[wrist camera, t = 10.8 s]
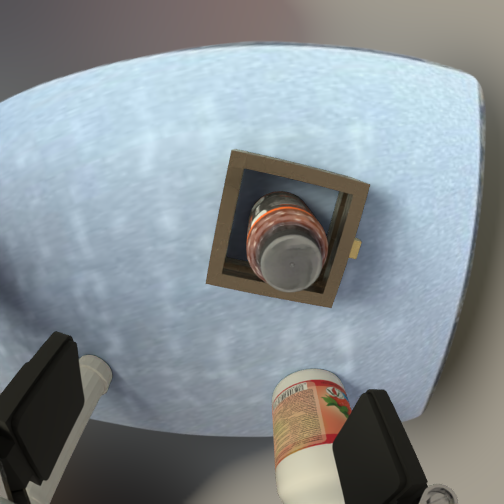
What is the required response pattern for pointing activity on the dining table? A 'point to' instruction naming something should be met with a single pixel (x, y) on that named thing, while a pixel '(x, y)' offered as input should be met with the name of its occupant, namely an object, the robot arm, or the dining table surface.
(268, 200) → the supplement bottle
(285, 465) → the fruit juice
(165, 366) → the dining table surface
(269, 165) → the collar stand
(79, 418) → the pipe
